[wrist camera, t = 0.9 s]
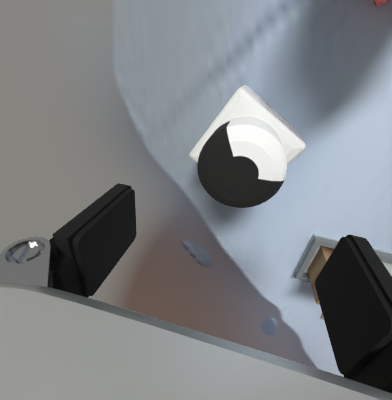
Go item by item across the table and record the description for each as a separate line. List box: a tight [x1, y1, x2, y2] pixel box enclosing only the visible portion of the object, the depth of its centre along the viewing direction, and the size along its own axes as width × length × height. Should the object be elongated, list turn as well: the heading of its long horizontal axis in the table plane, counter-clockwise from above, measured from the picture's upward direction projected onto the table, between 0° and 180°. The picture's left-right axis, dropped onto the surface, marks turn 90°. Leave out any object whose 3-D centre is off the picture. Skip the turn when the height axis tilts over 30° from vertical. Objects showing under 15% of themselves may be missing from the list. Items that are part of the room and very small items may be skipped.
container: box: [190, 85, 306, 208], centre depth 21 cm, size 8×8×13 cm
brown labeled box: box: [307, 246, 334, 304], centre depth 29 cm, size 5×5×6 cm
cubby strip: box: [294, 234, 392, 282], centre depth 31 cm, size 15×8×1 cm, turn 83°
